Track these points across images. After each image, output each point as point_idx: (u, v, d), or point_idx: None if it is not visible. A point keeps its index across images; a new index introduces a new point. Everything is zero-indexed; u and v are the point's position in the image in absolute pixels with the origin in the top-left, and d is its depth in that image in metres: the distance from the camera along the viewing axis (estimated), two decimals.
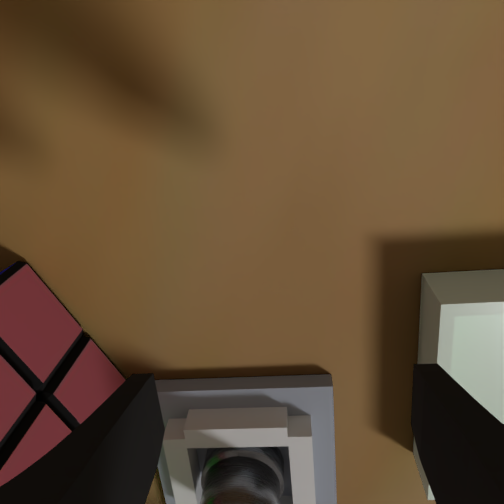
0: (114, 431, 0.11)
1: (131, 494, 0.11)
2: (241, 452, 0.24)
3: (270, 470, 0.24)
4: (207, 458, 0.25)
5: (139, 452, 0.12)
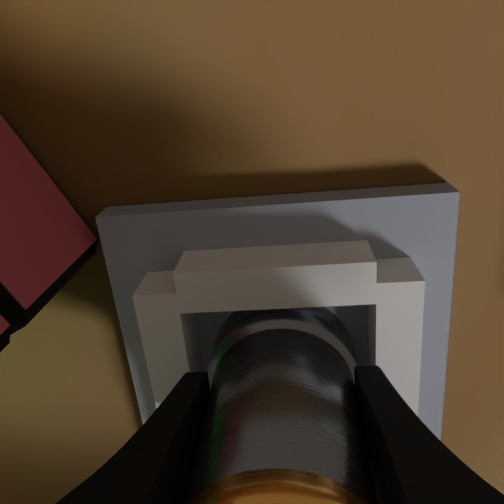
0: (181, 429, 0.10)
1: None
2: (283, 321, 0.13)
3: (339, 355, 0.13)
4: (218, 341, 0.14)
5: None
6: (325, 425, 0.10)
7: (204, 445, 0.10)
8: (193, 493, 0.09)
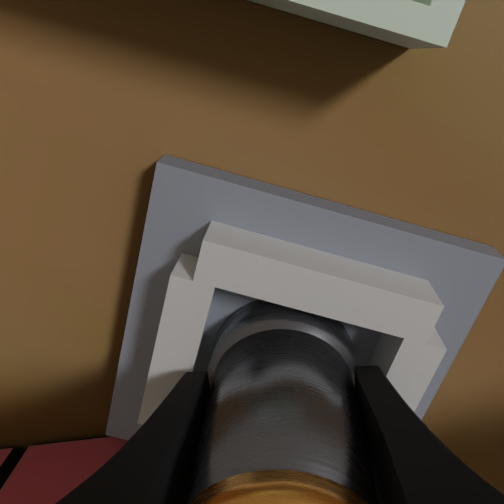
0: (181, 430, 0.10)
1: None
2: (281, 321, 0.13)
3: (337, 354, 0.13)
4: (216, 343, 0.14)
5: None
6: (324, 425, 0.10)
7: (203, 448, 0.10)
8: (192, 496, 0.09)
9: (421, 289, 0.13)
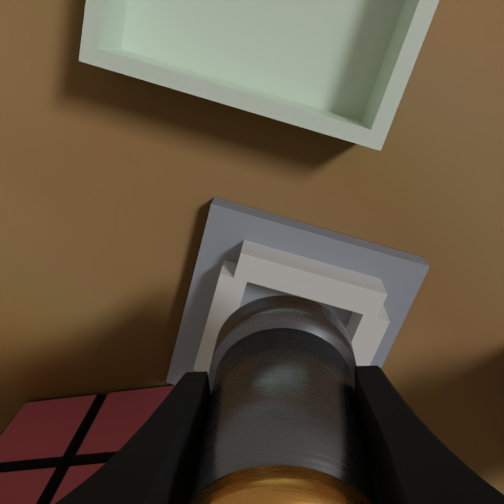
0: (181, 429, 0.10)
1: None
2: (282, 320, 0.13)
3: (337, 352, 0.13)
4: (218, 342, 0.14)
5: None
6: (324, 422, 0.10)
7: (206, 444, 0.10)
8: (196, 490, 0.09)
9: (374, 284, 0.20)
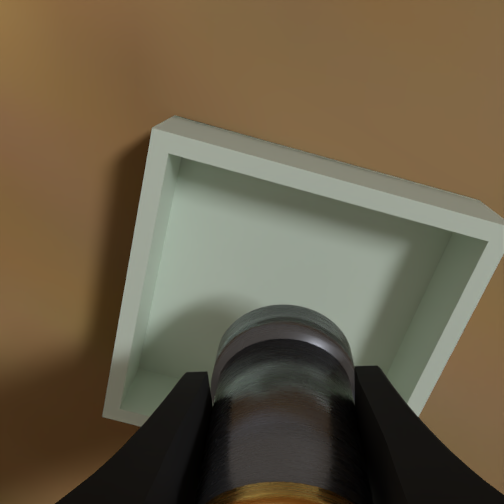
0: (181, 429, 0.10)
1: (193, 493, 0.11)
2: (285, 331, 0.13)
3: (338, 364, 0.13)
4: (221, 349, 0.14)
5: (199, 451, 0.12)
6: (326, 438, 0.10)
7: (211, 455, 0.11)
8: (201, 502, 0.10)
9: None
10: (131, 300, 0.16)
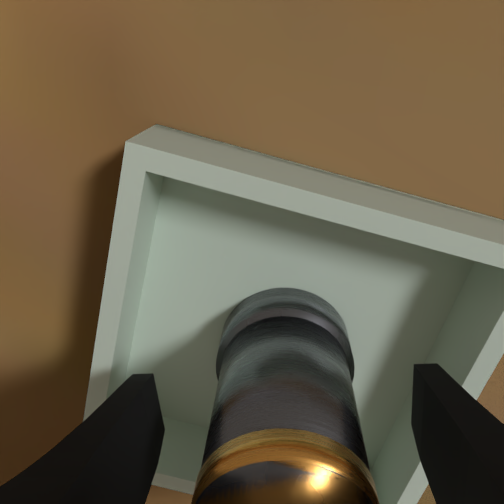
0: (114, 431, 0.11)
1: (131, 494, 0.11)
2: (285, 309, 0.14)
3: (335, 340, 0.14)
4: (226, 328, 0.15)
5: (139, 452, 0.12)
6: (323, 396, 0.11)
7: (218, 414, 0.12)
8: (210, 452, 0.11)
9: None
10: (106, 338, 0.14)
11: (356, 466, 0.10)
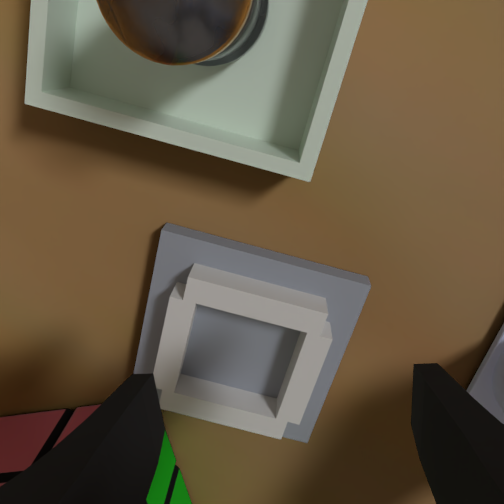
0: (114, 431, 0.11)
1: (131, 494, 0.11)
2: None
3: None
4: None
5: (139, 452, 0.12)
6: None
7: None
8: None
9: (318, 303, 0.22)
10: None
11: None
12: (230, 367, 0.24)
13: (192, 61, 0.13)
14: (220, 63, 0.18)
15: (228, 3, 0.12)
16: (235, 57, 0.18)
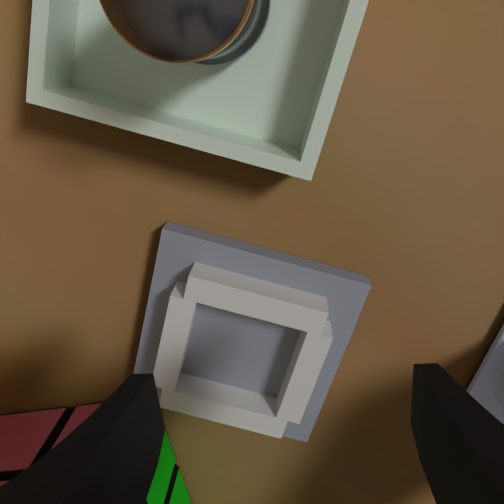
0: (114, 431, 0.11)
1: (131, 494, 0.11)
2: None
3: None
4: None
5: (139, 452, 0.12)
6: None
7: None
8: None
9: (318, 303, 0.22)
10: None
11: None
12: (231, 366, 0.24)
13: (194, 59, 0.13)
14: (221, 62, 0.18)
15: (230, 1, 0.12)
16: (236, 56, 0.18)
